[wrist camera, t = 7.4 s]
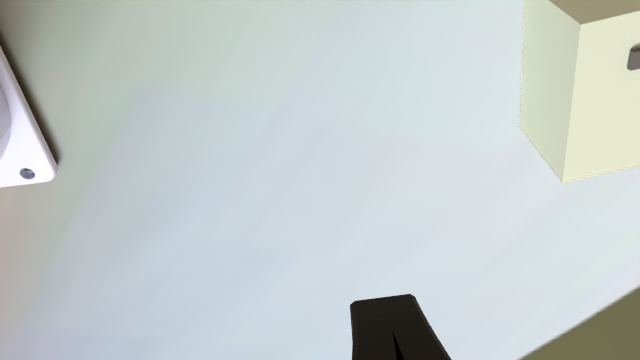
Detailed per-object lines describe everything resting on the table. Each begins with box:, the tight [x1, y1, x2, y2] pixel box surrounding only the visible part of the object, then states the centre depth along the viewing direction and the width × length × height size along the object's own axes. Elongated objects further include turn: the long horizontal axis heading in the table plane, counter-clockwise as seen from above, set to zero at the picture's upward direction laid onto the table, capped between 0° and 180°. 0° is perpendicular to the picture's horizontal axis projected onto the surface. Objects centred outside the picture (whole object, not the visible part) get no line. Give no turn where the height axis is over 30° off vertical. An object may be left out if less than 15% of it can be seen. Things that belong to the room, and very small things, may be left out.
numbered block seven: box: [519, 0, 640, 184], centre depth 18 cm, size 6×6×4 cm
